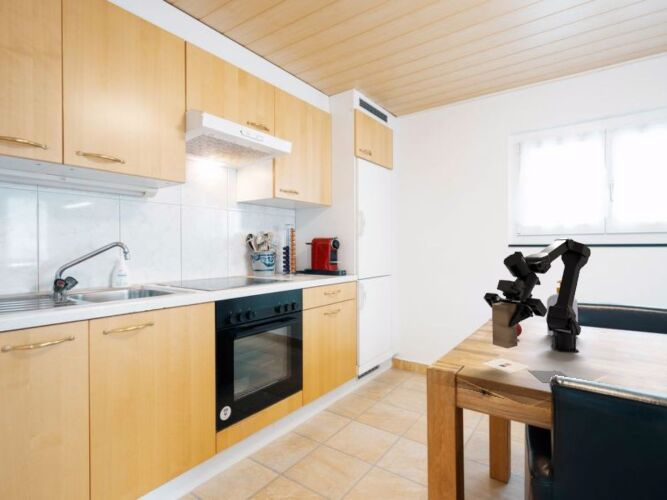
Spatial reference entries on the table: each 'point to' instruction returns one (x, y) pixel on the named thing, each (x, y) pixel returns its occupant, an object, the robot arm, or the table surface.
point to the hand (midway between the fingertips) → (501, 324)
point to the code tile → (505, 365)
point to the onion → (519, 329)
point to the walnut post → (503, 325)
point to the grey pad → (546, 375)
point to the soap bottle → (552, 301)
